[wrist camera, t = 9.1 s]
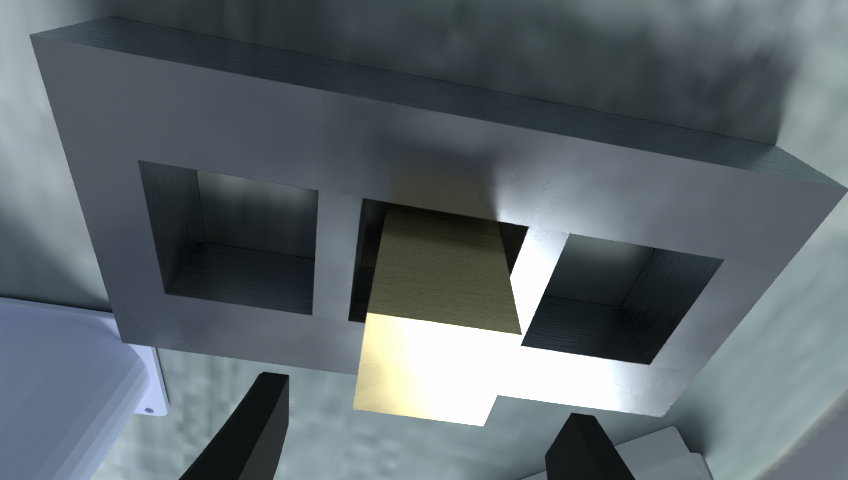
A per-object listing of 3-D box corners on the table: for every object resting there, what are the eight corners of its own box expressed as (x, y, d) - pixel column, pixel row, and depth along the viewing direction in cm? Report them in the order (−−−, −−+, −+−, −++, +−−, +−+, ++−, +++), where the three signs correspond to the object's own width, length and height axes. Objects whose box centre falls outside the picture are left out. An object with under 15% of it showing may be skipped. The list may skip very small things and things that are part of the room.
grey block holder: (165, 288, 21) (122, 342, 18) (110, 16, 15) (29, 34, 12) (634, 357, 23) (662, 417, 20) (776, 146, 16) (849, 189, 14)
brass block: (381, 252, 20) (353, 408, 13) (393, 172, 17) (366, 312, 11) (467, 266, 20) (483, 426, 13) (490, 189, 18) (522, 335, 11)
